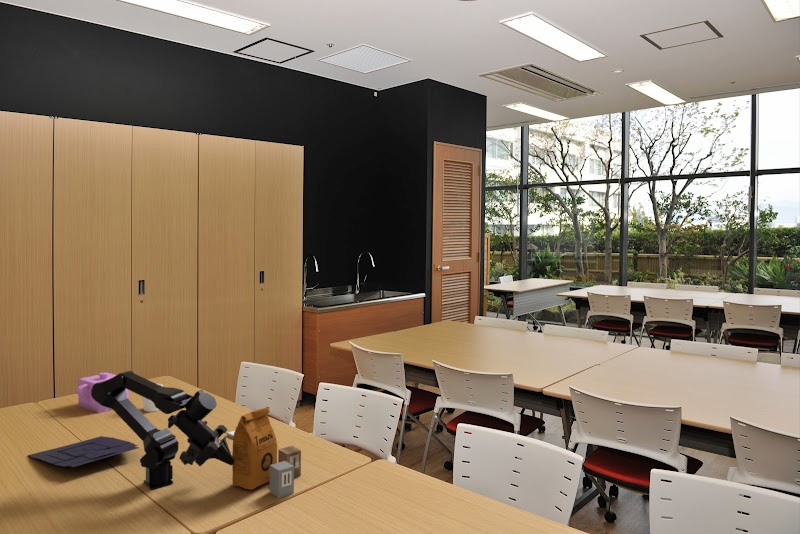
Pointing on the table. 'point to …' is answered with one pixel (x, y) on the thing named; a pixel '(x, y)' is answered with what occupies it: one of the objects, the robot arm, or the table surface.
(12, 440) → the table surface
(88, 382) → the teapot
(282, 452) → the walnut numbered block
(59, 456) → the dark blue flat slab
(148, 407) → the white cup
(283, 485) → the grey numbered block
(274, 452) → the coffee package
